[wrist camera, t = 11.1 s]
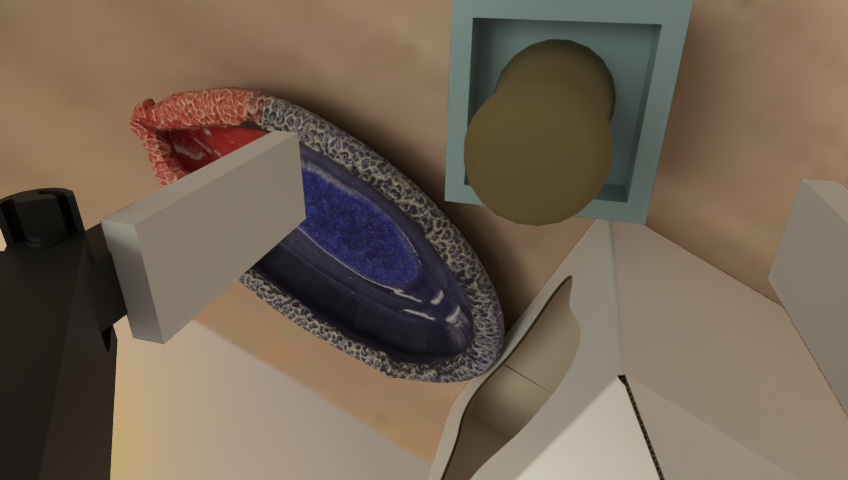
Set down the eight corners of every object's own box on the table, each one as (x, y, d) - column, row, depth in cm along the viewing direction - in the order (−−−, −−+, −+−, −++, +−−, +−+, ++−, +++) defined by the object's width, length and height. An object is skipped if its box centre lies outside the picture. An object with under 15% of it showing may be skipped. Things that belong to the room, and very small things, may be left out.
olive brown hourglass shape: (616, 31, 25) (630, 63, 16) (615, 156, 28) (627, 250, 18) (488, 46, 27) (431, 83, 18) (498, 163, 29) (452, 251, 20)
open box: (484, -12, 32) (451, -8, 24) (668, -7, 29) (693, -2, 22) (474, 155, 36) (444, 200, 29) (633, 170, 34) (645, 224, 26)
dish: (438, 392, 46) (423, 436, 42) (144, 165, 44) (95, 185, 40) (565, 277, 38) (562, 316, 34) (215, -4, 36) (164, -2, 32)
